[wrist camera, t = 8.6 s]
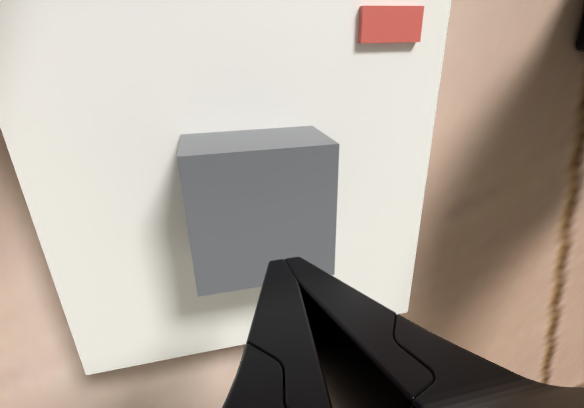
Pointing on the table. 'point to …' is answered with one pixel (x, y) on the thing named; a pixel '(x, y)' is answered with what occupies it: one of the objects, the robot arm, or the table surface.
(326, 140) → the plug
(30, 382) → the table surface
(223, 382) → the table surface
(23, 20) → the socket plate
